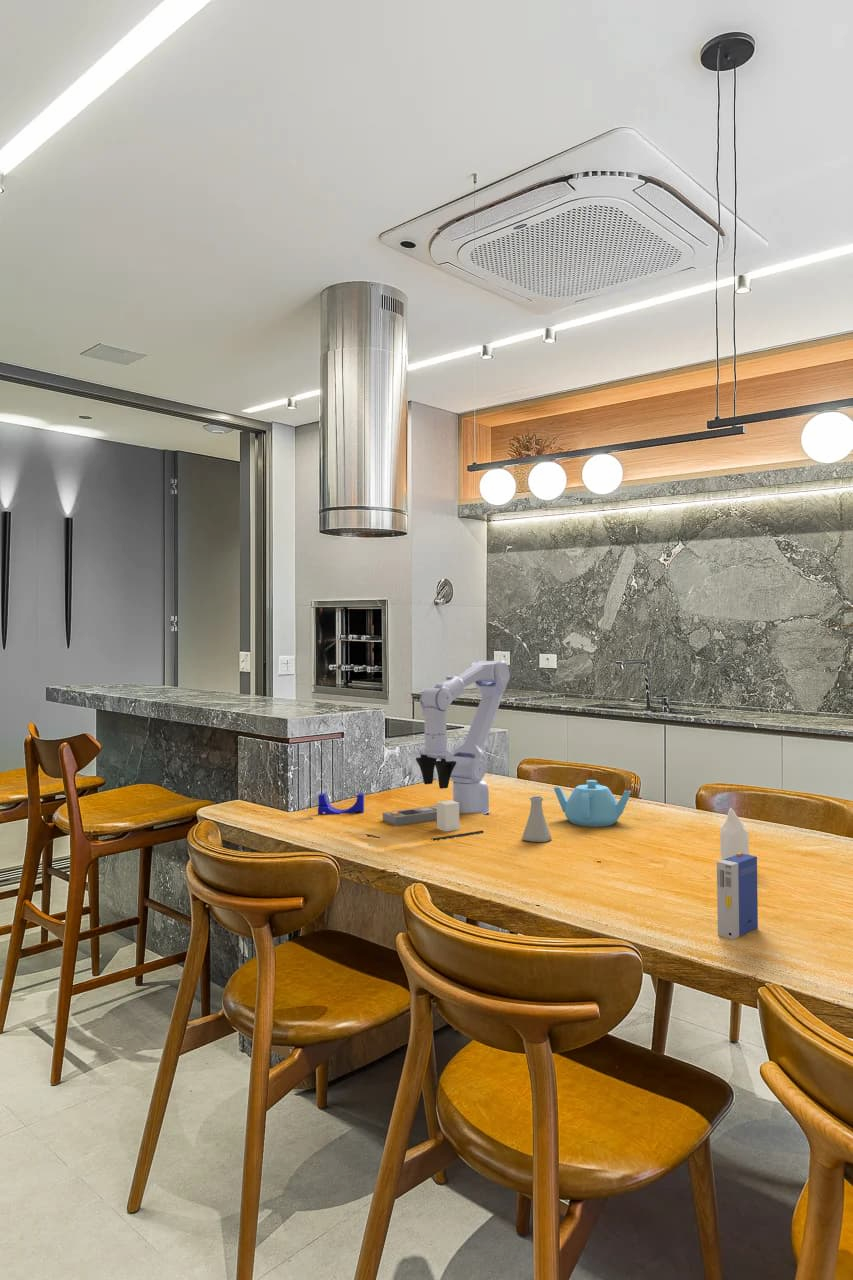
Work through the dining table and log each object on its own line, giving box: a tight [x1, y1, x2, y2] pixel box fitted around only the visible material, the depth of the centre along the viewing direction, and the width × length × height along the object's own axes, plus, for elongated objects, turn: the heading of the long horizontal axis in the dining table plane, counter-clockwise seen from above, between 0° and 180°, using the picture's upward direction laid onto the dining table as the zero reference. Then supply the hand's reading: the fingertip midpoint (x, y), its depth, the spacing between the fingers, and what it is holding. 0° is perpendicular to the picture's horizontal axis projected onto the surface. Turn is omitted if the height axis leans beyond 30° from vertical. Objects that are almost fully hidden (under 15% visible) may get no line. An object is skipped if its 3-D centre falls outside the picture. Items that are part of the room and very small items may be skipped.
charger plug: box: [436, 799, 460, 832], centre depth 201 cm, size 4×4×7 cm
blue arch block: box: [317, 792, 365, 815], centre depth 222 cm, size 12×4×6 cm, turn 89°
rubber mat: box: [431, 830, 484, 841], centre depth 201 cm, size 14×10×1 cm
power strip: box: [382, 805, 437, 826], centre depth 213 cm, size 18×7×3 cm, turn 121°
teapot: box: [553, 779, 632, 828], centre depth 212 cm, size 15×15×11 cm
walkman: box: [716, 852, 759, 941], centre depth 131 cm, size 8×3×12 cm, turn 130°
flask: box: [522, 795, 553, 843], centre depth 194 cm, size 7×7×10 cm
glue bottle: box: [719, 807, 750, 860], centre depth 168 cm, size 6×12×6 cm
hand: (435, 786), depth 213 cm, fingers open, 7 cm apart
